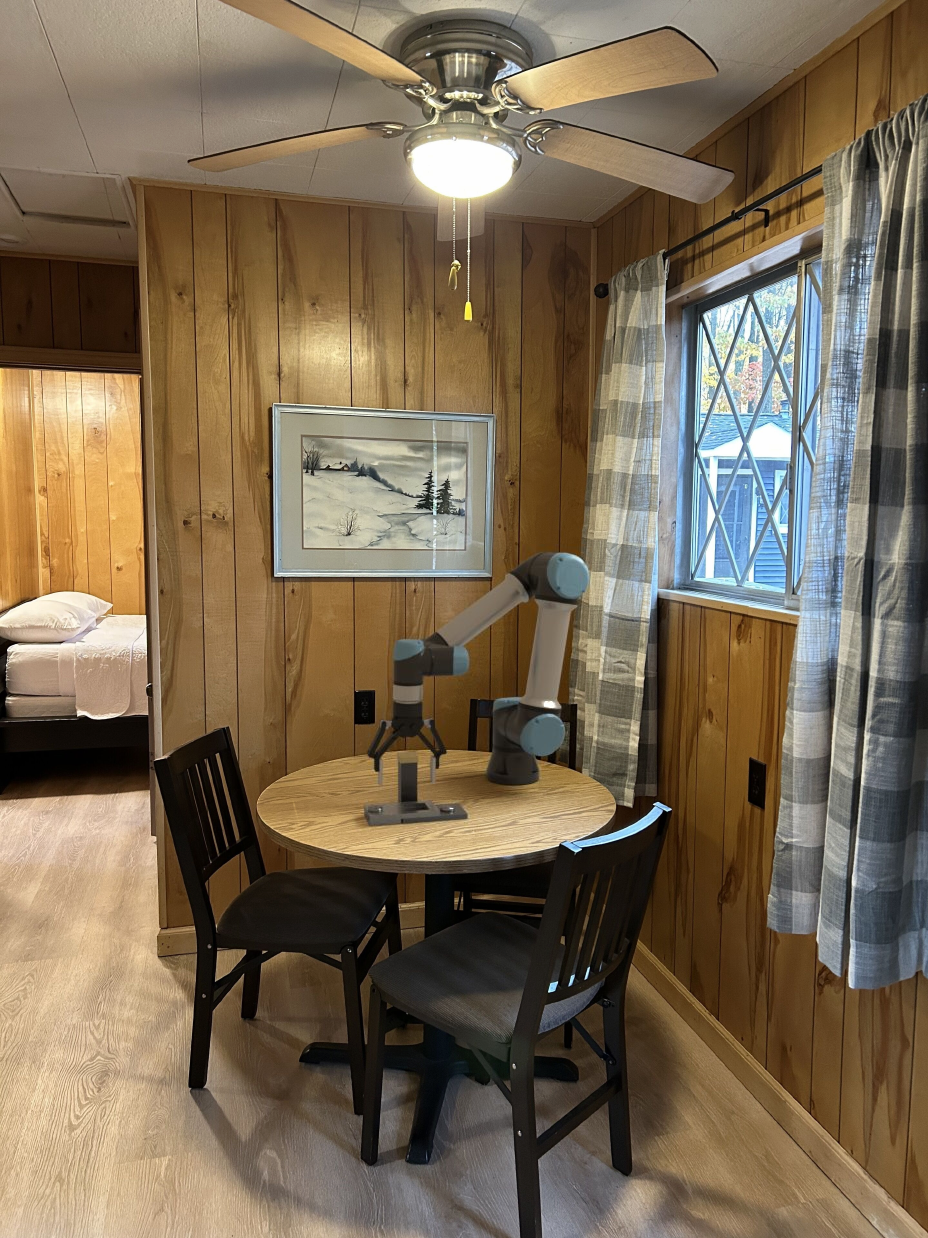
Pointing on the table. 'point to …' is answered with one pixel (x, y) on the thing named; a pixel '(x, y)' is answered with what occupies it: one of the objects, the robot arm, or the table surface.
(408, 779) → the link pin
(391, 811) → the plate
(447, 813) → the plate
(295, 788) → the table surface
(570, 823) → the table surface
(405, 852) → the table surface
